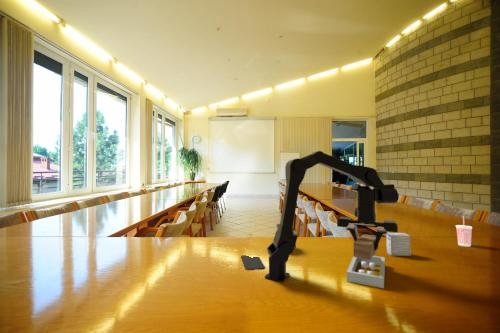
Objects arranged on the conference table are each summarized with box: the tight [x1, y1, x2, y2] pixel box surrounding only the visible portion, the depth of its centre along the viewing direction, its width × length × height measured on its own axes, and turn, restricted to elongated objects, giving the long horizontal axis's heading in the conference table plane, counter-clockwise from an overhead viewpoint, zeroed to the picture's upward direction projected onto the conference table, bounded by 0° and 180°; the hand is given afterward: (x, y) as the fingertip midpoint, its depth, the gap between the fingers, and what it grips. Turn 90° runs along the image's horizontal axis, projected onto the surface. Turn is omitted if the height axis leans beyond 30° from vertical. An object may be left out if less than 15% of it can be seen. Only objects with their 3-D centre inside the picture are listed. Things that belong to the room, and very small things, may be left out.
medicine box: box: [385, 232, 412, 257], centre depth 106 cm, size 8×4×9 cm, turn 84°
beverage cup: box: [455, 215, 473, 248], centre depth 120 cm, size 6×6×14 cm
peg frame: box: [346, 255, 386, 289], centre depth 87 cm, size 21×10×3 cm, turn 151°
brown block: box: [353, 233, 380, 260], centre depth 87 cm, size 15×5×4 cm, turn 144°
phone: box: [240, 254, 266, 271], centre depth 97 cm, size 7×1×15 cm
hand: (366, 248), depth 87 cm, fingers closed on brown block, 5 cm apart
